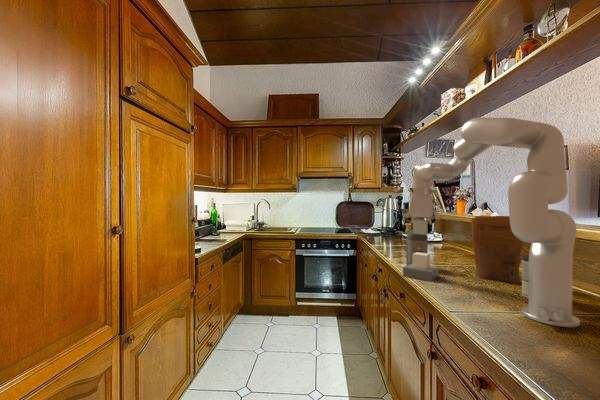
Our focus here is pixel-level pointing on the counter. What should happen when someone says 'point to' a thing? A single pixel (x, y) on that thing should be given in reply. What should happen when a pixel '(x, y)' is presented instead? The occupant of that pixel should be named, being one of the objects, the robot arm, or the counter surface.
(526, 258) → the coffee can
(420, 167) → the robot arm
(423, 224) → the sage block
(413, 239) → the liquor
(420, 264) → the cream block
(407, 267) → the pedestal
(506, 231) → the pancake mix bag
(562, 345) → the counter surface
